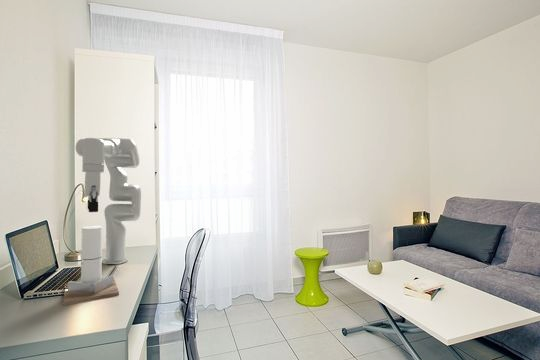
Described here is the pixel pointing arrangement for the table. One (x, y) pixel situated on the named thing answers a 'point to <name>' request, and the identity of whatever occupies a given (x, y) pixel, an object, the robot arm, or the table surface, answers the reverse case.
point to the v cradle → (90, 290)
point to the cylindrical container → (91, 254)
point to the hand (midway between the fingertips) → (92, 210)
